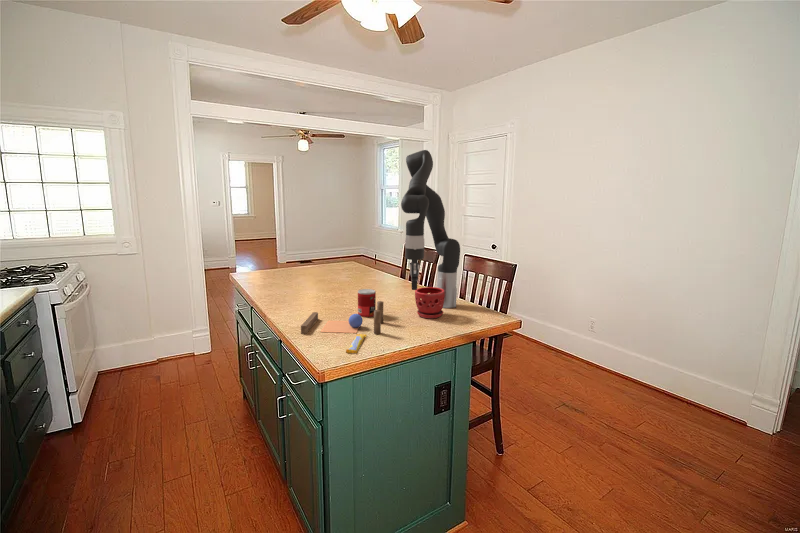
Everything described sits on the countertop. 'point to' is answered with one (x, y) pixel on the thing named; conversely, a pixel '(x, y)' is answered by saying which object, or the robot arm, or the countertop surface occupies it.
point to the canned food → (366, 302)
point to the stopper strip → (309, 323)
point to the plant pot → (429, 302)
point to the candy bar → (356, 343)
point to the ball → (355, 320)
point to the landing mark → (339, 327)
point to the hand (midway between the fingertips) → (414, 289)
